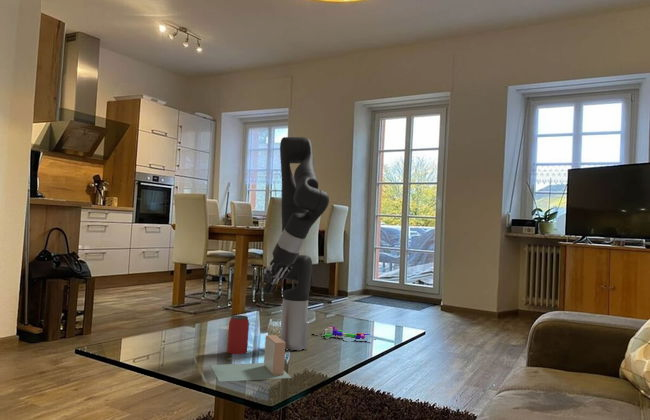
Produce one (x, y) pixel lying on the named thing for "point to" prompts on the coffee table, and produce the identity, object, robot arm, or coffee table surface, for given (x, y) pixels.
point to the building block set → (333, 331)
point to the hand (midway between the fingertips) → (267, 291)
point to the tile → (274, 354)
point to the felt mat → (244, 372)
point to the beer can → (238, 335)
